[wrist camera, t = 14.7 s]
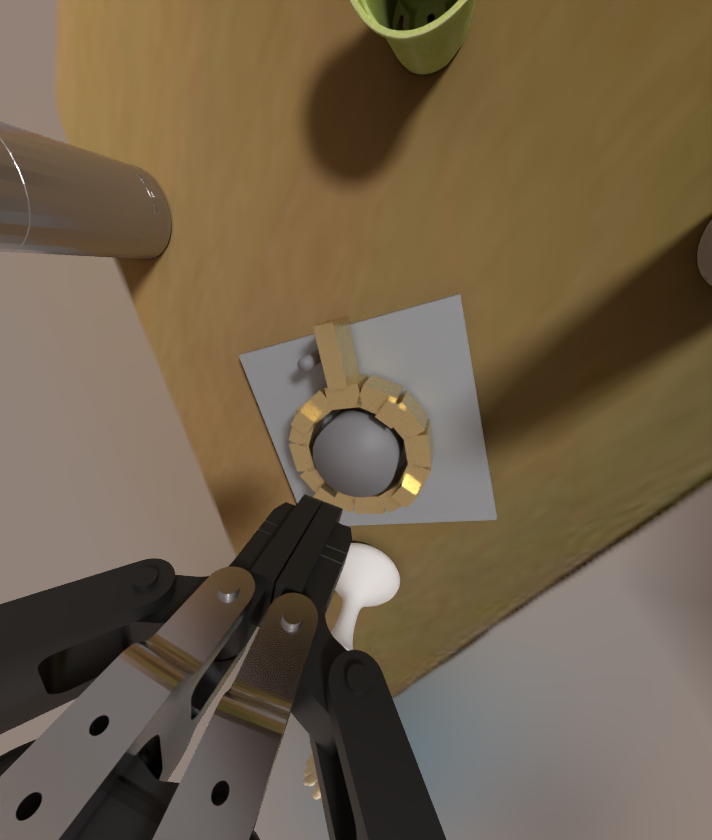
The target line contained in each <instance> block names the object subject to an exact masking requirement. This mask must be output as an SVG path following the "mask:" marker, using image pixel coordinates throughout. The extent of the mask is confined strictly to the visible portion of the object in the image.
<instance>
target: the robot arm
mask: <svg viewBox="0 0 712 840" xmlns="http://www.w3.org/2000/svg"><path fill="white" fill-rule="evenodd" d="M170 233H171V217H170V211H169V207H168V204H167V201H166V198H165V196H164V194H163V192H162V190H161V189H160V187H159V186H158V184H157V183H156V181H155V180H154V179H153V178H152V177H151V176H150V175H149V174H148V173H146V172H145V171H143V170H142V169H140V168H137V167H135V166H132V165H129V164H126V163H123V162H120V161H117V160H114V159H111V158H108V157H105V156H102V155H99V154H96V153H93V152H90V151H87V150H84V149H81V148H78V147H75V146H72V145H69V144H66V143H63V142H60V141H57V140H54V139H51V138H48V137H45V136H42V135H39V134H36V133H33V132H30V131H27V130H24V129H21V128H18V127H15V126H12V125H9V124H6V123H3V122H0V252H16V253H38V254H58V255H78V256H98V257H116V258H136V259H151V258H154V257H157V256H159V255H160V254H161V253H162V252H163V251H164V249H165V248H166V246H167V244H168V241H169V239H170ZM342 511H343V508H340V507H337V506H335V505H332V504H330V503H327V502H323V501H322V500H319V499H317V498H314V497H312V496H309V495H306V494H304V495H303V496H302V498H301V499H300V501H299V502H298V503H297V505H296V506H294V505H292V504H289V503H287V502H286V503H284V504H282V505H280V506H279V507H277V508H275V509H274V510H273V511H272V512H271V514H270V515H269V516H268V517H267V519H266V521H265V522H263V524H262V525H261V526H260V528H259V530H257V531H256V533H255V534H254V535H253V537H252V538H251V539H250V540H249V542H248V543H247V544H246V546H245V547H244V548H243V549H242V551H241V552H240V553H239V555H238V556H237V557H236V558H235V560H234V561H233V562H232V563H231V564H230V566H228V567H225V568H222V569H219V570H217V571H215V572H214V573H213V574H211V575H210V576H207V577H194V576H182V575H175V571H174V569H173V567H172V565H171V564H170V563H169V562H167V561H165V560H162V559H146V560H142V561H139V562H135V563H132V564H129V565H126V566H122V567H119V568H116V569H113V570H109V571H106V572H103V573H100V574H96V575H94V576H90V577H87V578H84V579H81V580H77V581H74V582H71V583H67V584H64V585H61V586H58V587H54V588H51V589H48V590H45V591H42V592H38V593H35V594H32V595H29V596H25V597H23V598H19V599H16V600H13V601H10V602H6V603H3V604H0V734H2V733H4V732H6V731H8V730H10V729H12V728H15V727H16V726H19V725H21V724H23V723H25V722H27V721H29V720H31V719H34V718H35V717H37V716H40V715H42V714H44V713H46V712H48V711H50V710H53V709H55V708H57V707H59V706H61V705H63V704H65V703H67V702H69V701H71V700H74V699H76V698H77V699H76V700H75V701H74V702H73V703H72V704H71V705H70V706H69V707H68V708H67V709H66V710H65V711H64V712H63V713H62V714H61V715H60V716H59V717H58V718H57V719H56V720H55V721H54V722H53V723H52V725H50V726H49V728H48V729H47V730H46V731H45V732H44V733H43V734H42V735H41V736H40V737H39V738H38V739H36V740H33V741H31V742H29V743H26V744H24V745H21V746H19V747H17V748H15V749H13V750H11V751H9V752H7V753H5V754H3V755H1V756H0V840H260V839H259V837H258V835H257V834H256V832H255V831H254V827H255V825H256V821H257V818H258V815H259V812H260V808H261V805H262V802H263V799H264V795H265V793H266V789H267V786H268V783H269V779H270V776H271V773H272V770H273V767H274V763H275V760H276V757H277V754H278V751H279V747H280V744H281V741H282V738H283V735H284V732H285V728H286V725H287V722H288V718H289V716H290V712H291V713H292V714H293V715H294V716H295V718H296V719H297V720H298V721H299V722H300V724H301V725H302V726H303V727H304V728H305V730H306V731H307V732H308V733H309V736H310V742H311V748H312V753H313V758H314V763H315V768H316V773H317V778H318V783H319V788H320V793H321V798H322V803H323V808H324V813H325V818H326V823H327V828H328V833H329V838H330V840H446V837H445V835H444V832H443V830H442V827H441V824H440V822H439V819H438V817H437V814H436V812H435V809H434V806H433V804H432V801H431V798H430V796H429V793H428V791H427V788H426V785H425V783H424V780H423V778H422V775H421V772H420V770H419V767H418V764H417V762H416V759H415V757H414V754H413V751H412V749H411V746H410V744H409V741H408V738H407V736H406V733H405V730H404V728H403V725H402V723H401V720H400V718H399V715H398V712H397V710H396V707H395V704H394V702H393V699H392V696H391V694H390V691H389V689H388V686H387V683H386V681H385V678H384V676H383V673H382V671H381V669H380V667H379V665H378V664H377V662H376V661H375V660H374V659H373V658H372V657H371V656H370V655H368V654H367V653H365V652H362V651H359V650H349V651H347V650H346V649H345V648H344V647H343V646H342V645H341V644H340V643H339V642H338V641H337V640H336V639H335V638H334V637H333V635H332V634H331V632H330V631H329V629H328V627H327V623H326V619H325V614H326V611H327V609H328V606H329V604H330V601H331V598H332V596H333V593H334V591H335V588H336V586H337V583H338V580H339V578H340V575H341V573H342V570H343V567H344V564H345V561H346V558H347V555H348V552H349V548H350V545H351V542H352V536H351V528H350V527H347V526H345V525H342V524H340V523H339V522H340V518H341V515H342ZM257 626H258V627H260V628H259V630H258V632H257V634H256V636H255V638H254V641H253V642H252V645H251V647H250V649H249V651H248V653H247V655H246V657H245V659H244V661H243V664H242V666H241V668H240V670H239V672H238V674H237V676H236V678H235V680H234V683H233V684H232V686H231V688H230V689H229V691H227V692H226V693H225V694H224V695H223V697H222V699H221V700H220V702H219V704H218V706H217V708H216V710H215V712H214V714H213V716H212V718H211V720H210V722H209V724H208V726H207V728H206V730H205V732H204V734H203V736H202V738H201V740H200V743H199V744H198V746H197V749H196V751H195V753H194V755H193V757H192V759H191V761H190V763H189V765H188V767H187V769H186V771H185V773H184V775H183V777H182V779H181V782H180V783H174V782H167V781H168V779H169V777H170V776H171V774H172V773H173V771H174V770H175V768H176V766H177V765H178V763H179V762H180V760H181V758H182V757H183V755H184V753H185V751H186V749H187V747H188V745H189V743H190V740H191V738H192V735H193V733H194V731H195V729H196V727H197V725H198V723H199V722H200V720H201V718H202V716H203V715H204V714H205V712H206V710H207V709H208V707H209V706H210V705H211V703H212V701H213V700H214V698H215V697H216V695H217V694H218V692H219V691H220V689H221V688H222V686H223V685H224V683H225V681H226V680H227V678H228V677H229V675H230V674H231V672H232V671H233V669H234V668H235V666H236V664H237V663H238V661H239V660H240V658H241V657H242V655H243V654H244V651H245V649H246V647H247V643H248V642H249V640H250V638H251V636H252V635H253V633H254V631H255V629H256V627H257Z"/></svg>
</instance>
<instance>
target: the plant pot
mask: <svg viewBox="0 0 712 840" xmlns="http://www.w3.org/2000/svg"><path fill="white" fill-rule="evenodd" d="M350 2H351V4H352V6H353V8H354V10H355V11H356V13H357V15H358V16H359V17H360V19H361V20H362V21H363V22H364V23H365V24H366V26H368V27H369V28H370V29H371V30H372V31H374V32H375V33H377V34H378V35H380V36H382V37H385V38H386V40H387V41H388V43H389V45H390V46H391V48H392V50H393V52H394V53H395V55H396V57H397V58H398V60H399V61H400V63H401V64H402V65H403V66H404V67H405V68H407V69H408V70H409V71H411V72H413V73H416V74H430V73H433V72H436V71H438V70H440V69H442V68H443V67H444V66H446V65H447V64H448V63H449V62H450V61H451V59H452V58H453V57H454V55H455V54H456V53H457V51H458V50H459V49H460V47H461V46H462V44H463V42H464V41H465V39H466V36H467V34H468V31H469V28H470V24H471V19H472V15H473V11H474V6H475V2H476V0H350ZM430 14H433V15H434V20H433V22H431V23H429V22H428V21H427V18H428V16H429V15H430ZM401 16H403V27H402V31H398V23H399V19H400V17H401Z"/></svg>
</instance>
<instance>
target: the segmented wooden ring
mask: <svg viewBox="0 0 712 840" xmlns="http://www.w3.org/2000/svg"><path fill="white" fill-rule="evenodd" d="M313 329H314V334H315V338H316V342H317V346H318V350H319V354H320V358H321V362H322V366H323V370H324V374H325V379H326V383H327V385H325V386H324V387H323V388H322V389H321V390H320V391H318V392H317V393H316V394H315V395H314V396H313V397H311V398H310V399H309V400H308V401H307V402H306V403H304V404H303V405H302V406H301V407H300V408H299V409H298V411H297V412H296V413H295V416H294V420H293V421H292V423H291V425H292V429H291V433H290V437H289V440H290V441H292V442H291V443H290V444H289V447H290V450H291V453H292V456H293V460H294V463H295V466H296V469H297V472H300V471H303V472H302V473H301V474H300V475H299V476H300V477H301V478H302V479H303V480H304V481H305V482H306V483H307V484H308V485H309V486H310V488H311V489H312V490H313V491H314V492H315V495H314V496H313V497H314V498H317V499H319V500H322V501H323V502H327V503H331V504H333V505H335V506H337V507H340V508H343V509H344V510H346V511H348V512H350V513H351V511H352V509H353V507H354V510H355V514H385V512H386V510H387V511H388V512H389V513H390V512H392V511H394V510H396V509H398V508H400V507H402V506H403V507H405V508H407V507H408V506H409V505H410V504H411V503H412V502H413V501H414V500H415V499H416V498H417V497H418V495H419V493H420V491H421V489H422V487H423V485H424V484H425V482H426V480H427V478H428V476H429V474H430V472H431V467H432V461H433V454H434V443H433V436H432V428H431V421H430V419H427V418H428V414H427V413H426V411H425V410H424V409H423V408H422V406H421V405H420V404H419V403H418V401H417V400H416V399H415V398H414V397H413V395H412V394H411V393H410V392H409V390H408V389H407V390H406V391H405V392H403V393H402V394H401V395H400V393H401V391H402V388H403V386H401V385H399V384H396V383H394V382H391V381H389V380H386V379H384V378H381V377H379V376H376V375H374V374H372V375H371V376H370V377H369V378H368V374H367V373H366V374H360V371H359V366H358V361H357V356H356V351H355V347H354V342H353V337H352V332H351V327H350V322H349V317H348V316H347V317H342V318H338V319H333V320H329V321H326V322H323V323H321V324H318V325H315V326H313ZM356 407H360V408H362V409H365V410H367V411H369V412H372V413H374V414H376V416H375V417H376V418H377V419H379V420H380V421H381V422H383V423H384V424H385V425H387V426H388V427H390V428H391V429H392V428H394V429H395V430H396V431H397V432H398V434H399V435H400V436H401V437H402V438H403V439H404V444H405V450H406V456H407V460H406V462H405V464H404V466H403V467H401V468H400V469H398V470H396V471H395V474H394V477H393V479H392V481H391V483H390V484H389V485H388V487H387V488H386V489H384V490H383V491H382V492H380V493H378V494H376V495H373V496H369V497H352V496H348V495H345V494H342V493H340V492H338V491H336V490H335V489H333V488H332V487H330V486H329V485H328V484H327V483H326V482H325V481H324V480H323V479H322V478H321V476H320V475H319V473H318V472H317V470H316V467H315V465H314V461H313V446H314V443H315V440H316V438H317V437H318V435H319V434H320V433H321V432H322V427H323V424H324V421H325V417H326V415H327V414H328V413H329V412H331V411H332V410H336V409H346V408H356Z"/></svg>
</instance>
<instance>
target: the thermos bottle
mask: <svg viewBox="0 0 712 840" xmlns="http://www.w3.org/2000/svg"><path fill="white" fill-rule="evenodd" d="M697 262H698V268H699V270H700V273H701V275H702V276H703V278H704V279H705V280H706V281H707V283H709V284H710V285H712V220H711V221H710V222H709V224H708V225H707V227H706V229H705V231H704V233H703V234H702V237H701V240H700V243H699V246H698V252H697Z"/></svg>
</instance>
